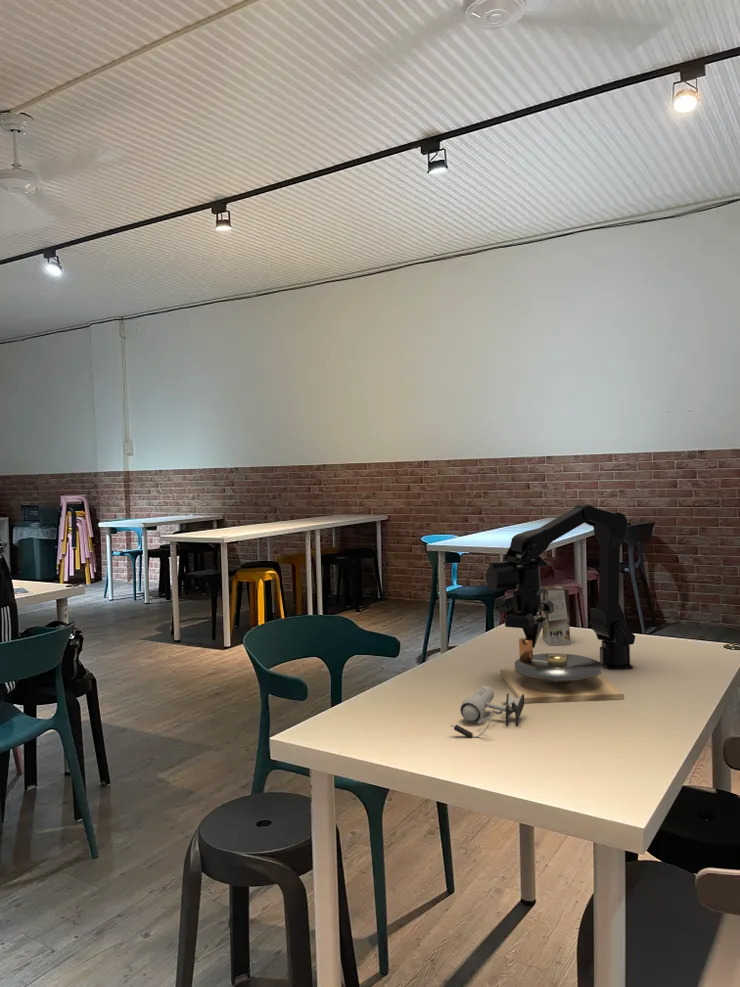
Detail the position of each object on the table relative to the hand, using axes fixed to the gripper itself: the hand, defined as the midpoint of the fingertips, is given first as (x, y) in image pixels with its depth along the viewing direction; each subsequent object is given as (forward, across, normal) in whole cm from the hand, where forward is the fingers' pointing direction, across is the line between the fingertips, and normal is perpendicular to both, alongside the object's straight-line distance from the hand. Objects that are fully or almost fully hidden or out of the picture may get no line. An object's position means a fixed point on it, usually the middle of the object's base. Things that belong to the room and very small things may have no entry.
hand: (531, 647), depth 180 cm
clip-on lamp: (+6, +36, +3) cm, 36 cm away
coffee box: (+9, -38, -7) cm, 40 cm away
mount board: (+7, +4, +8) cm, 11 cm away
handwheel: (+3, +4, +8) cm, 9 cm away
